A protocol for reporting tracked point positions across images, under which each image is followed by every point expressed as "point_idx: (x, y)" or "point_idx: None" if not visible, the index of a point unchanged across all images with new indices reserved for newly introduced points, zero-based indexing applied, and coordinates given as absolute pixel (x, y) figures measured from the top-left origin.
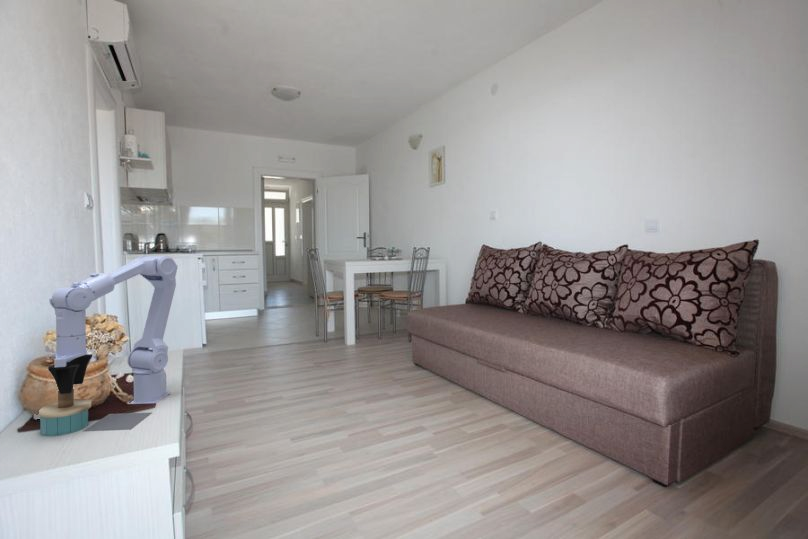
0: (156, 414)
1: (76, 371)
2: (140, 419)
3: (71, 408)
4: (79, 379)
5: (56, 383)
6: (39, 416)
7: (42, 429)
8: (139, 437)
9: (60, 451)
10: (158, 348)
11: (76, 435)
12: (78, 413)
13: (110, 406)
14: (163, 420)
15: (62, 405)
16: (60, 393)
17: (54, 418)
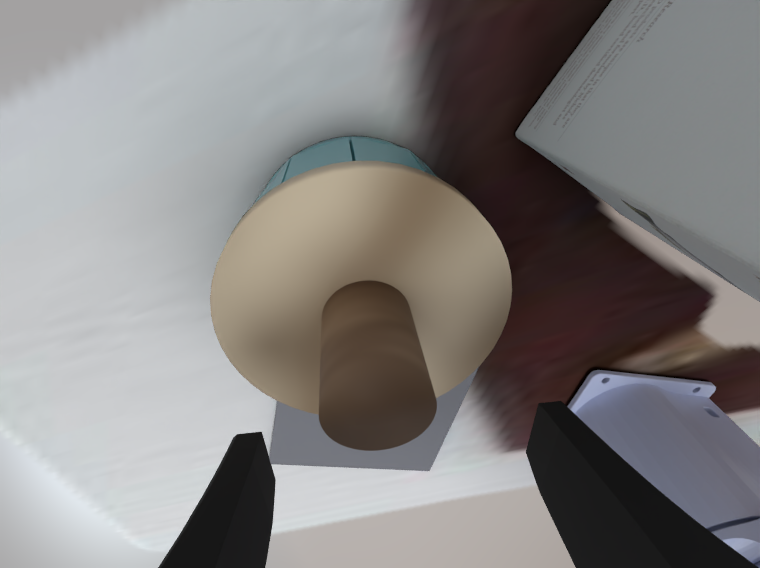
0: (420, 473)
1: (611, 563)
2: (364, 460)
3: (301, 366)
4: (548, 481)
5: (171, 550)
6: (616, 9)
7: (274, 181)
8: None
9: (88, 320)
10: None
11: None
12: None
13: (624, 311)
14: (350, 500)
15: (322, 329)
16: (234, 441)
17: None
